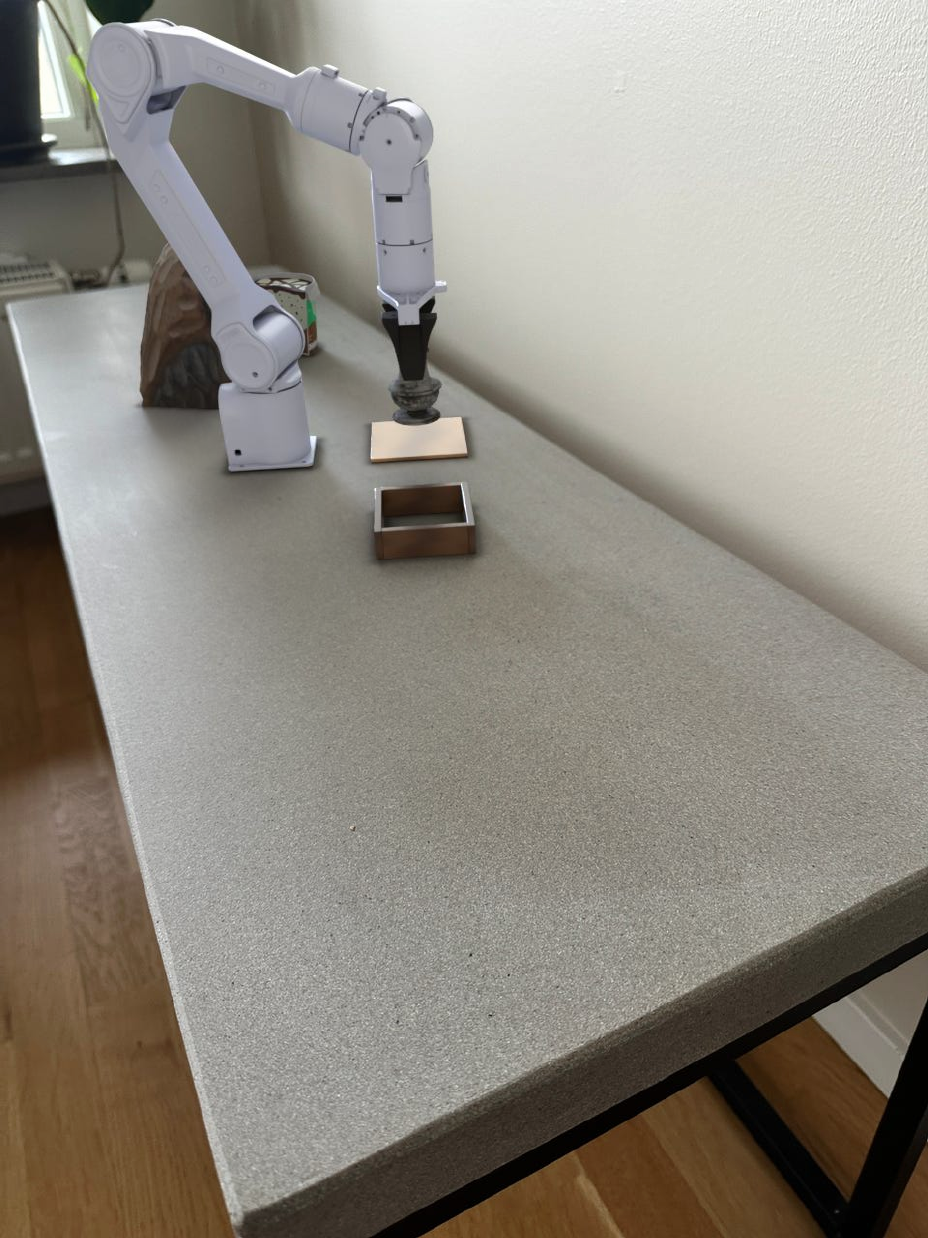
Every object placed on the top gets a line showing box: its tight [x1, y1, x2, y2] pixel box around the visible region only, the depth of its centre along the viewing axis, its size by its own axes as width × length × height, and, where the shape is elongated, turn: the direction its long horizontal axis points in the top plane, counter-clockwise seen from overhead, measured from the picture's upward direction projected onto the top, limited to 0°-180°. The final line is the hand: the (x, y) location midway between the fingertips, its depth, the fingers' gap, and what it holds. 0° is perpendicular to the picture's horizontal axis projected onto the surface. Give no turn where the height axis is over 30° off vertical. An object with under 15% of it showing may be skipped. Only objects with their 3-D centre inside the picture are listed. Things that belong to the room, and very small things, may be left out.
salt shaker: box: [386, 347, 443, 426], centre depth 102 cm, size 6×6×12 cm
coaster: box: [370, 416, 469, 463], centre depth 113 cm, size 11×11×1 cm
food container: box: [251, 272, 321, 357], centre depth 143 cm, size 12×6×10 cm, turn 58°
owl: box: [139, 241, 233, 410], centre depth 124 cm, size 13×13×20 cm
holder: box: [373, 481, 477, 561], centre depth 94 cm, size 9×9×3 cm
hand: (413, 373), depth 103 cm, fingers closed on salt shaker, 3 cm apart
